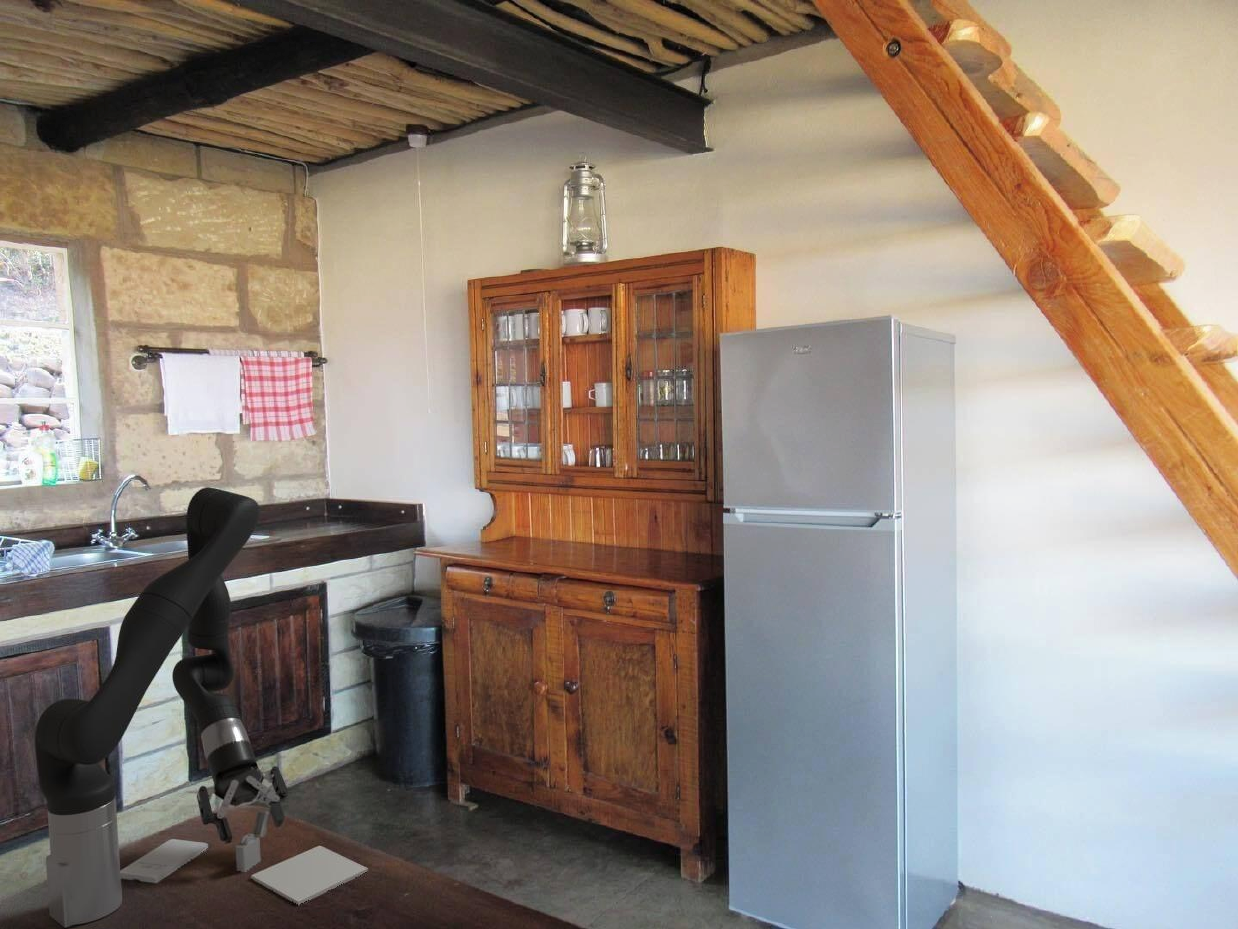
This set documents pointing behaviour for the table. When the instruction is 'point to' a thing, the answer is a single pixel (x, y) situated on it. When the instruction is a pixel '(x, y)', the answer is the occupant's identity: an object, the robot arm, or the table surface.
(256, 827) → the lighter
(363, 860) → the table surface
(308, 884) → the mat
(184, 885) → the table surface
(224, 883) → the table surface
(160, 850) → the external hard drive
